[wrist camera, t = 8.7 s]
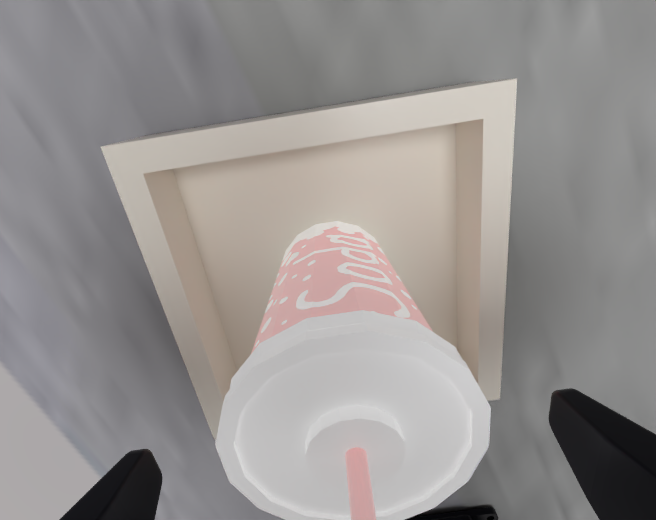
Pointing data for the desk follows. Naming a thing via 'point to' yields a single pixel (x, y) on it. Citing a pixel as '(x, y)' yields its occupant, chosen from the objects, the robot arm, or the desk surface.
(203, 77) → the desk surface
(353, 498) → the beverage cup
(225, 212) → the tray
